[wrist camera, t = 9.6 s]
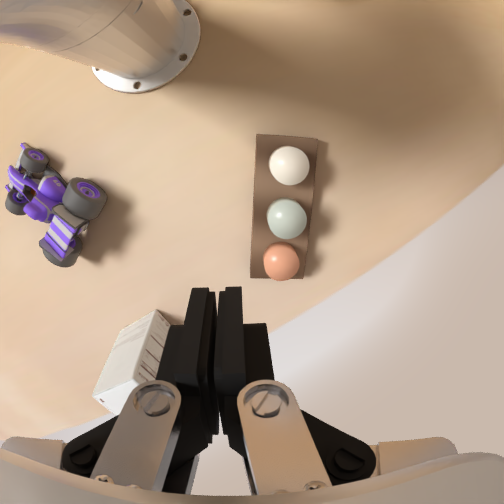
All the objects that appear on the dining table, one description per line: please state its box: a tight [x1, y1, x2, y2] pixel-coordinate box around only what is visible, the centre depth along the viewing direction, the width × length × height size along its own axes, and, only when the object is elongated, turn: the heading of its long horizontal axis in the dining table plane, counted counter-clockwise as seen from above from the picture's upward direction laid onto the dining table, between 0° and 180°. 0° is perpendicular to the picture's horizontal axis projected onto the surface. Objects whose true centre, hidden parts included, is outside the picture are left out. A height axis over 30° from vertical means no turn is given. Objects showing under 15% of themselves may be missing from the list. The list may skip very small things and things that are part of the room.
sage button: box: [267, 197, 307, 239], centre depth 28 cm, size 4×4×2 cm
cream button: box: [269, 146, 309, 185], centre depth 27 cm, size 4×4×2 cm
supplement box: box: [92, 310, 171, 416], centre depth 32 cm, size 7×7×13 cm
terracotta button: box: [263, 242, 300, 281], centre depth 31 cm, size 4×4×2 cm
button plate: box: [250, 134, 318, 279], centre depth 31 cm, size 16×6×2 cm, turn 177°
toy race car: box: [5, 143, 107, 267], centre depth 27 cm, size 10×15×6 cm, turn 51°
